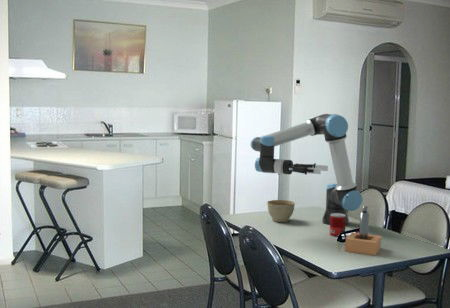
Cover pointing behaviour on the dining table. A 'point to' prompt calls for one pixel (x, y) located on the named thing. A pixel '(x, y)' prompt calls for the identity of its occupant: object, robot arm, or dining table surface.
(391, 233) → the dining table surface
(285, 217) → the planter bowl
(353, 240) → the hollowed wooden tray
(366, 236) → the slim metal bottle
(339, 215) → the canned food
